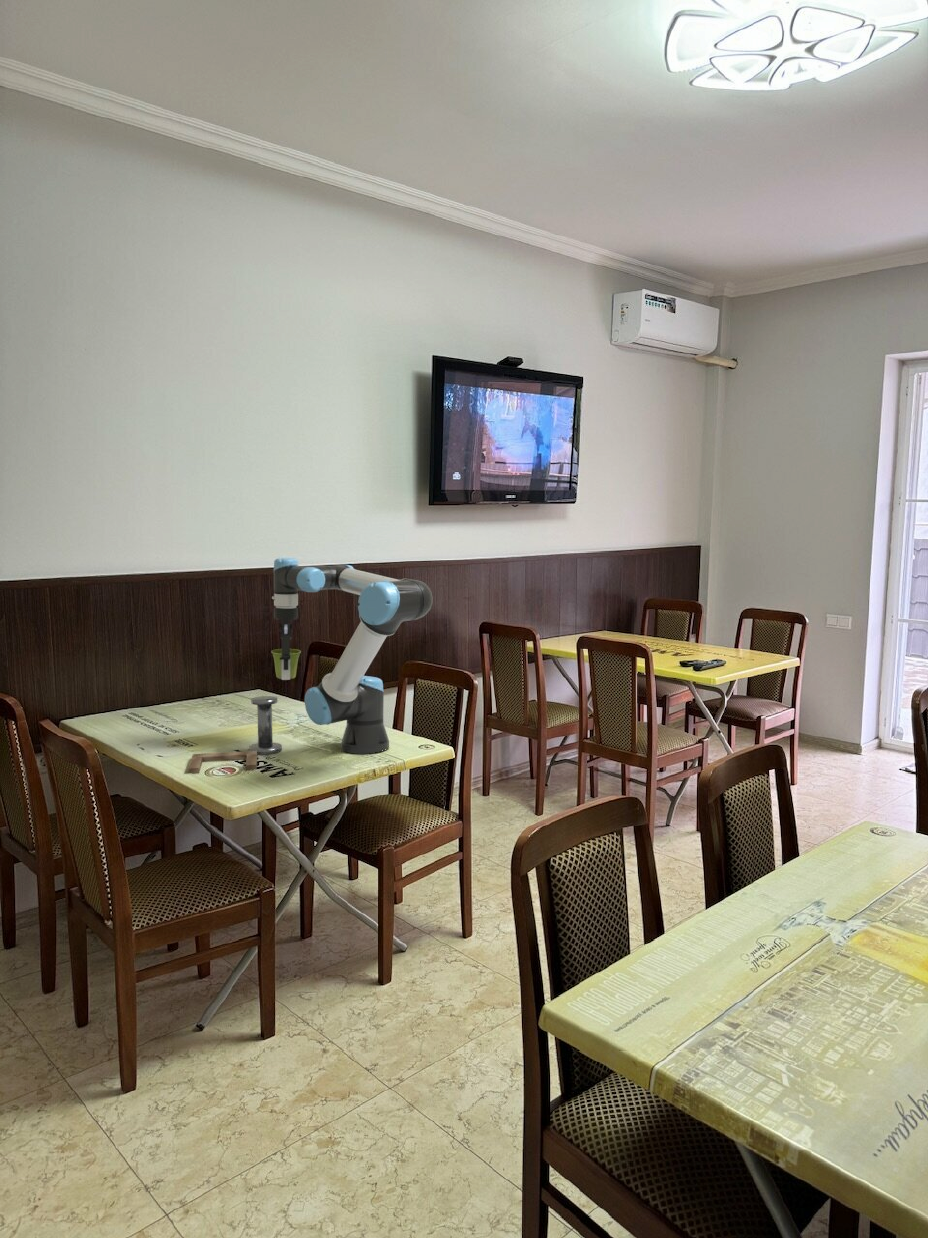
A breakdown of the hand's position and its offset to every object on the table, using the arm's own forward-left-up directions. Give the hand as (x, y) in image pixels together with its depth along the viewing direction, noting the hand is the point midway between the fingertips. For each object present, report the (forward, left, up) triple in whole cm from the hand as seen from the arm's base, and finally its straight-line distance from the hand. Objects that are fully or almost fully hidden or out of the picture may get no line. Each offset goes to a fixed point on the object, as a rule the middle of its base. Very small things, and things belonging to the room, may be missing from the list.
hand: (285, 676), depth 286 cm
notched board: (+19, +21, -22) cm, 36 cm away
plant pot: (0, 0, -1) cm, 1 cm away
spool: (+7, +8, -22) cm, 24 cm away
